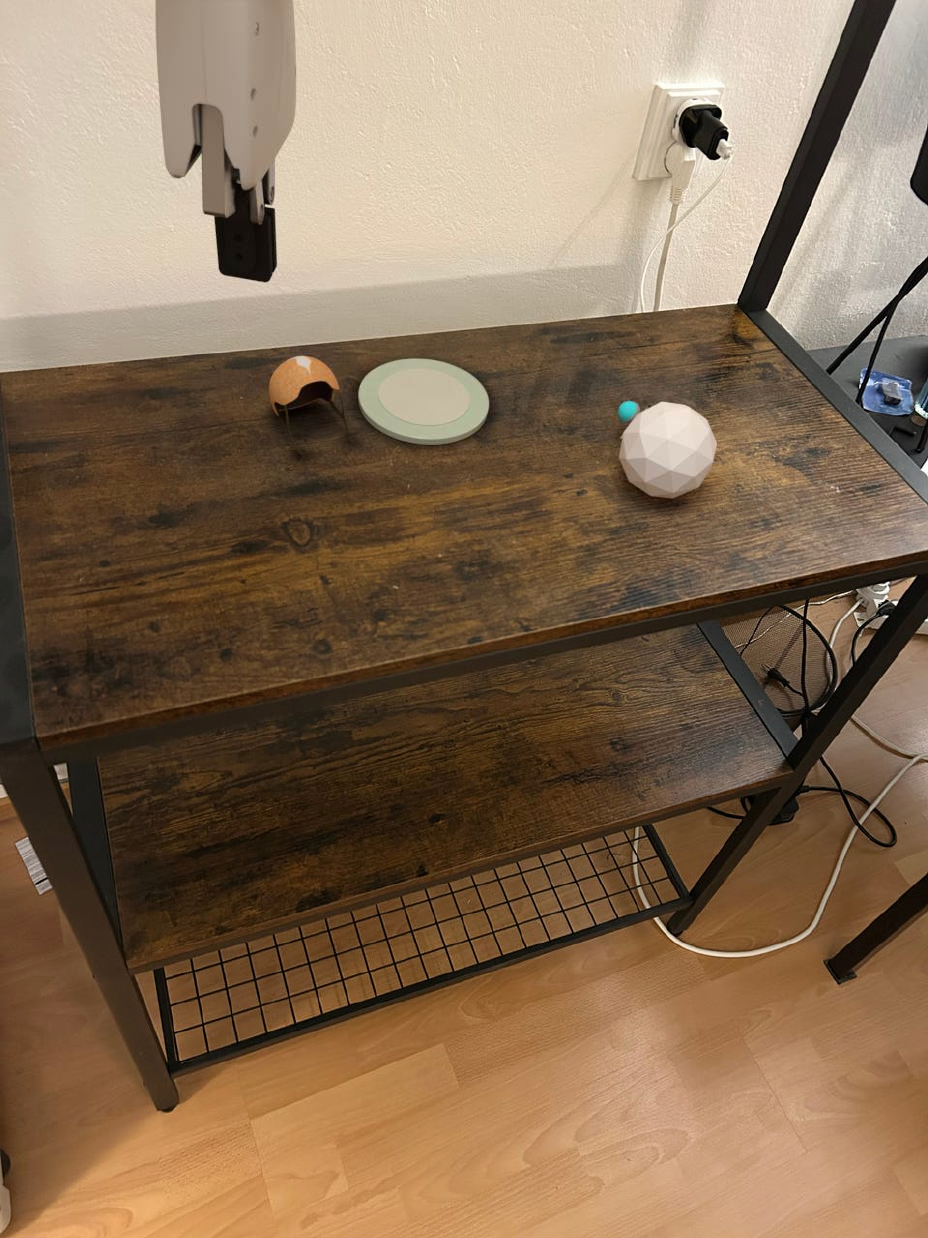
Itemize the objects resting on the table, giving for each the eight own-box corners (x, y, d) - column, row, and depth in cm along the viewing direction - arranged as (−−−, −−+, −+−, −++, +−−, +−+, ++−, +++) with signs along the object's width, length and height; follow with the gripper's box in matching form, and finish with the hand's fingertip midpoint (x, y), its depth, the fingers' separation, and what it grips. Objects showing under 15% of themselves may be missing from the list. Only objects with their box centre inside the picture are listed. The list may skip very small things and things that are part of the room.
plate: (383, 455, 84) (383, 447, 83) (341, 373, 91) (341, 366, 90) (509, 433, 88) (510, 426, 87) (459, 356, 94) (460, 349, 94)
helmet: (343, 450, 88) (312, 367, 88) (366, 428, 82) (332, 338, 81) (284, 467, 85) (251, 382, 85) (302, 446, 79) (267, 354, 79)
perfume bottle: (634, 497, 78) (564, 421, 86) (690, 528, 84) (619, 455, 92) (699, 419, 75) (621, 349, 83) (752, 457, 81) (674, 387, 89)
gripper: (197, -134, 51) (224, 205, 65) (87, -51, 41) (146, 328, 55) (338, -109, 51) (334, 225, 65) (262, -21, 41) (277, 350, 55)
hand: (248, 271), depth 60 cm, fingers closed
